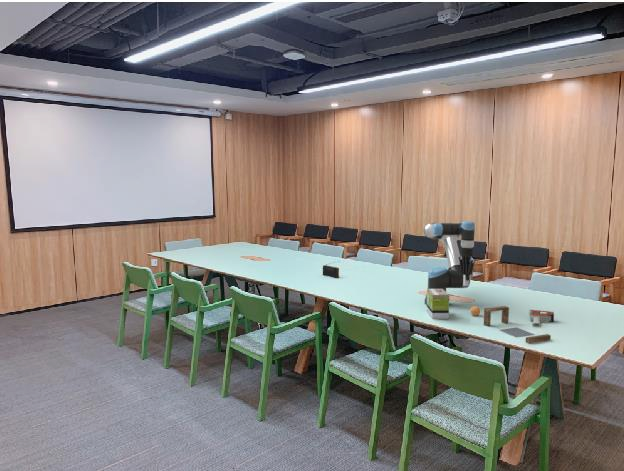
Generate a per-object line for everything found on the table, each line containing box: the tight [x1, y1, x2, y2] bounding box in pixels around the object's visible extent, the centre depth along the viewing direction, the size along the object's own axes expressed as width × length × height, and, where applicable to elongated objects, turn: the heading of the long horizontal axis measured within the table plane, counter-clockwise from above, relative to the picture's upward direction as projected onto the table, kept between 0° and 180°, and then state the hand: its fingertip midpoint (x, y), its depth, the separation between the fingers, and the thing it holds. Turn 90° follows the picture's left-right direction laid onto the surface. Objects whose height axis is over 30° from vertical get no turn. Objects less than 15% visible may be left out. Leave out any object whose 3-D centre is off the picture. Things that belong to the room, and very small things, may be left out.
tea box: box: [426, 288, 450, 320], centre depth 264 cm, size 15×10×15 cm, turn 178°
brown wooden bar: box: [525, 333, 552, 344], centre depth 221 cm, size 2×14×2 cm, turn 110°
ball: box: [470, 306, 481, 317], centre depth 264 cm, size 6×6×6 cm
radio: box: [322, 261, 340, 279], centre depth 373 cm, size 19×3×15 cm, turn 43°
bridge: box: [483, 305, 510, 327], centre depth 248 cm, size 3×14×9 cm, turn 110°
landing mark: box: [499, 326, 535, 338], centre depth 234 cm, size 12×12×1 cm
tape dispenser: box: [529, 309, 555, 328], centre depth 253 cm, size 18×5×20 cm
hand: (465, 285), depth 271 cm, fingers closed
